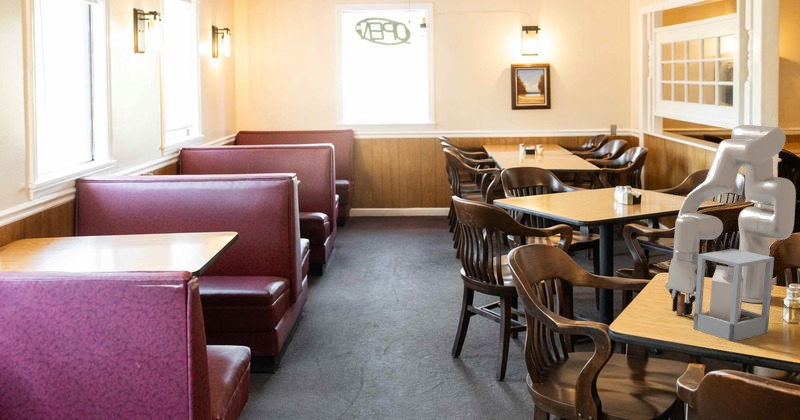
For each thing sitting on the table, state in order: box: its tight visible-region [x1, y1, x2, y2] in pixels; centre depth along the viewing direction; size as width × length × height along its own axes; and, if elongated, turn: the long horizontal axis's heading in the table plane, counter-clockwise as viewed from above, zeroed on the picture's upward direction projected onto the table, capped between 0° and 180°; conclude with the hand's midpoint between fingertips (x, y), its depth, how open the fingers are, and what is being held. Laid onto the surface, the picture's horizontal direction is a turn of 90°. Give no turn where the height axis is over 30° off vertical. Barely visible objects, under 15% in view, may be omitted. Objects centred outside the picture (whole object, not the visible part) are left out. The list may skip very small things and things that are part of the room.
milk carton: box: [708, 264, 743, 321], centre depth 254 cm, size 7×7×19 cm
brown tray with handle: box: [676, 293, 752, 322], centre depth 260 cm, size 12×23×6 cm, turn 32°
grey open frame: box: [692, 248, 775, 342], centre depth 252 cm, size 16×14×23 cm
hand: (682, 312), depth 269 cm, fingers closed on brown tray with handle, 3 cm apart
